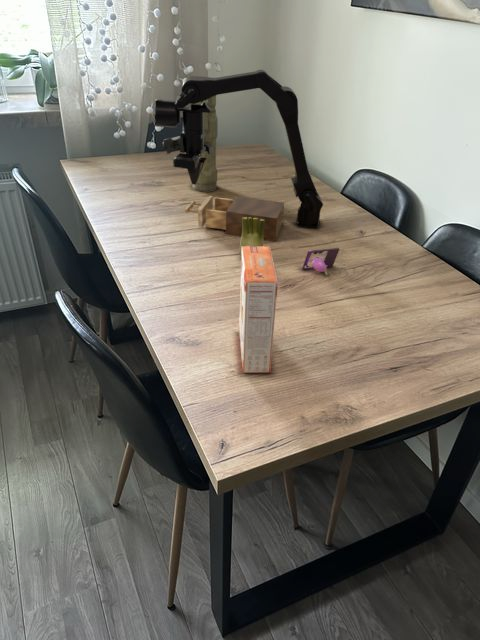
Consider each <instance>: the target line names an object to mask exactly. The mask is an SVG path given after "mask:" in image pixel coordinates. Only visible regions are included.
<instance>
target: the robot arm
mask: <svg viewBox="0 0 480 640" xmlns="http://www.w3.org/2000/svg"><path fill="white" fill-rule="evenodd" d="M256 89H260V90H261V91H263V92H264V94H265V95H267V96H268V97H269V98H270V99H271V100H272V101H273V102H274V104H275V105H276V108H277V110H278V113H279V115H280V118H281V119H282V122H283V124H284V129H285V132H286V133H285V134H286V137H287V142H288V145H289V150H290V154H291V159H292V164H293V167H294V172H295V173H294V176H293V177H290V180H291V183H292V186H293V188H292V189H293V190H292V191H293V193H294V195H295V198H298V200H299V202H300V205H299V207H298V208H297V215H296V223H297V227H302V228H308V229H315V230H316V229H319V227H320V226H319V225H320V222H321V220H320V218H321V210H322V208H323V206H324V202H323V200H322V198H321V196H320V194H319V192H318V191H317V188H316V186H315V183H314V181H313V179H312V176H311V174H310V172H309V168H308V164H307V159H306V153H305V150H304V144H303V140H302V135H301V131H300V127H299V101H298V97H297V95H296V93H295V91H294V90H293V89H292V88H291V87H289V86H286V85H284V86H283V85H281V83H279V82H278V81H277V80H275V79H274V78H273V77H272V76H270V74H268V73H267V71H266V70H264V69H258V70H254V71H249V72H243V73H236V74H230V75H225V76H219V77H218V76H217V77H210V76H200V75H197V76H196V75H190V76H187V77H186V79H184V81H183V82H182V87H181V92H180V94H179V95H177V97H176V100H168V99H161V98H156V99H155V102H154V103H155V108H154V112H155V113H154V124H155V127H157V128H158V127H159V128H176V129H177V128H178V127H177V126H178V125H181V123H182V132H180V134H179V135H178V136H174V137H168V138H165V139H163V142H162V150H164V151H165V152H166V155H169V154H170V155H171V153H175V152H177V151H179V153H178V154H177V155H176V156H175V157H174V158H173V159H172V161H173V162H172V165H173V167H174V168H178V169H179V168H180V169H186V170H187V173H188V176H189V179H190V182H191V185H193V184H194V185H195V184H196V183H197V180H198V178H199V176H200V173H201V171H202V168H203V166H204V164H205V162H206V160H207V158H203V157H202V155H201V154H202V153H203V152H204V151H207V152H208V154H211V153H212V145H211V143H210V142H204V136H205V135H206V131H204V113H210V107H209V106H208V105H207V104H206V102H205V101H204V100H207V99H209V98H211V97H213V96H216V97H217V96H219V95H225V94H230V93H236V92H242V91H250V90H256ZM202 101H204V102H203V103H202V104H196V103H199V102H202ZM188 105H190V106H188ZM181 112H182V117H181ZM181 119H182V120H181ZM181 121H182V122H181Z"/></svg>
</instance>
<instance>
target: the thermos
mask: <svg viewBox="0 0 480 640" xmlns="http://www.w3.org/2000/svg"><path fill="white" fill-rule="evenodd" d="M204 101H205V102H206V104H207V105H208V106H209V107H210V113H204V131H206V135H205V136H204V142H210V143H211V145H212V153H211V154H208V152H207V151H204V152H203V153H202V154H201V155H202V157H203V158H207V160H206V162H205V164H204V166H203V168H202V171H201V173H200V176H199V178H198V180H197V183H196V184H195V185H194V184H191V185H192V189H193V190H194V191H196V192H197V191H198V192H204V193H207V192H213V191H216V190H217V187H218V185H217V182H218V169H217V138H218V133H219V132H218V129H219V128H218V123H219V122H218V121H219V120H218V116H217V110H216V106H217V95H216V96H213V97H211V98H209V99H207V100H204ZM204 101H202V102H199V103H196V104H202V103H203V102H204Z"/></svg>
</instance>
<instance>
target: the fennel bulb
mask: <svg viewBox="0 0 480 640" xmlns="http://www.w3.org/2000/svg"><path fill="white" fill-rule="evenodd" d="M264 223H265V220H263V219H260V225H259V231H258V218H253V232H252V218H251V217H249V218H248V224H247V217H243V218H242V236H240V241H239V255H240V256H241V251H242V246H255V247H264V244H265V243H264V240H265V239H263V234H264Z"/></svg>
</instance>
